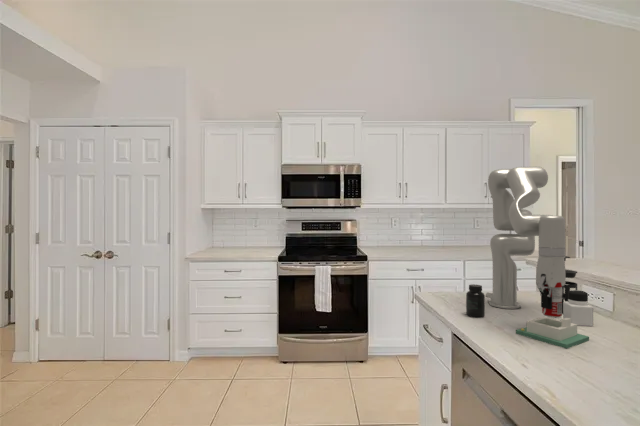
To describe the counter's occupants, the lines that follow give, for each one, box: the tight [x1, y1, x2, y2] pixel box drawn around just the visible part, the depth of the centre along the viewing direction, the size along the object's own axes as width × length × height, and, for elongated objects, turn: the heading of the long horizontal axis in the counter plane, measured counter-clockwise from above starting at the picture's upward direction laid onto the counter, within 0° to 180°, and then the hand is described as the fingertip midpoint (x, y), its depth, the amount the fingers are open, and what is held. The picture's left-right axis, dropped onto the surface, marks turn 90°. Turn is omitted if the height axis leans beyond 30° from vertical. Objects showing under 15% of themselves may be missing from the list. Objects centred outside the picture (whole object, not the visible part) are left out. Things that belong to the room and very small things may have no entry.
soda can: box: [541, 281, 563, 319], centre depth 122 cm, size 6×6×12 cm
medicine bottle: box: [562, 289, 594, 327], centre depth 137 cm, size 7×7×12 cm
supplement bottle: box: [465, 283, 486, 319], centre depth 147 cm, size 7×7×12 cm
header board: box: [515, 316, 590, 349], centre depth 122 cm, size 16×14×7 cm
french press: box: [562, 255, 578, 315], centre depth 152 cm, size 12×9×23 cm
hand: (551, 306), depth 122 cm, fingers closed on soda can, 5 cm apart
